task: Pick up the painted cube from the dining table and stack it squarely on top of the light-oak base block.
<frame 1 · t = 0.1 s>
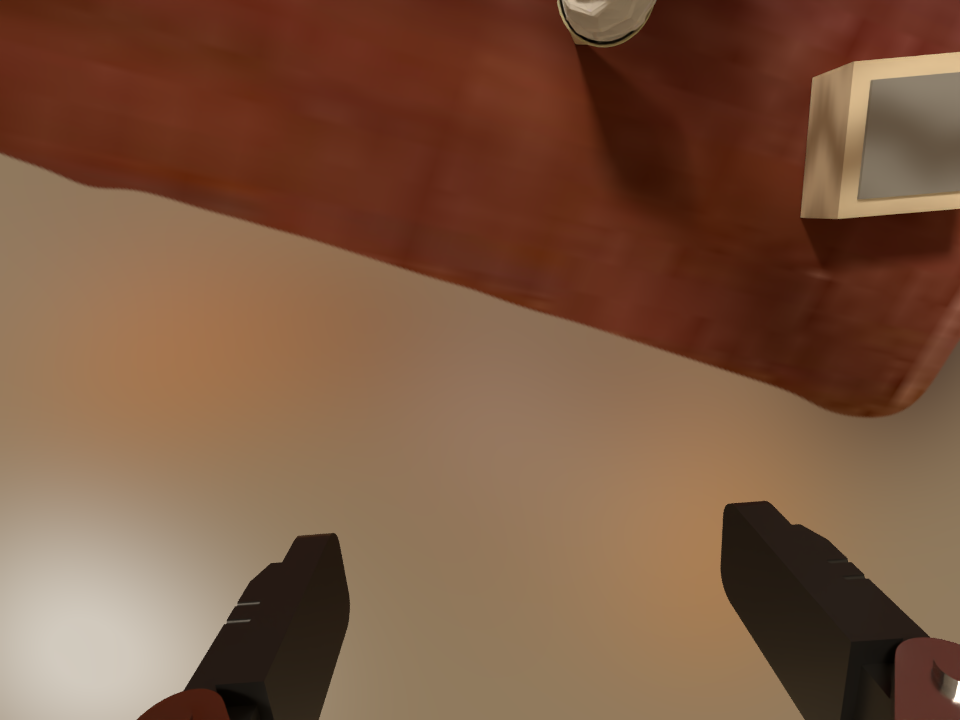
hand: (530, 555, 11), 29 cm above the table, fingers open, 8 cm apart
ice cream cone: (576, 40, 34), on the table
base: (872, 144, 36), on the table
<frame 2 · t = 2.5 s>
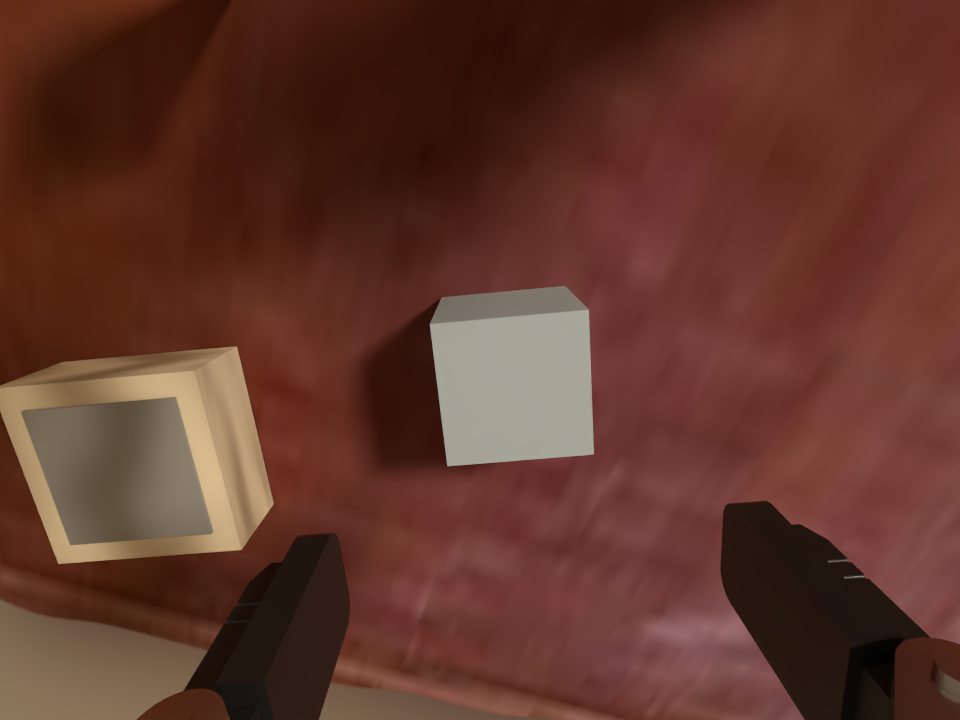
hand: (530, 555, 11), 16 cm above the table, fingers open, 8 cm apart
base: (172, 435, 28), on the table
cube: (507, 350, 26), on the table
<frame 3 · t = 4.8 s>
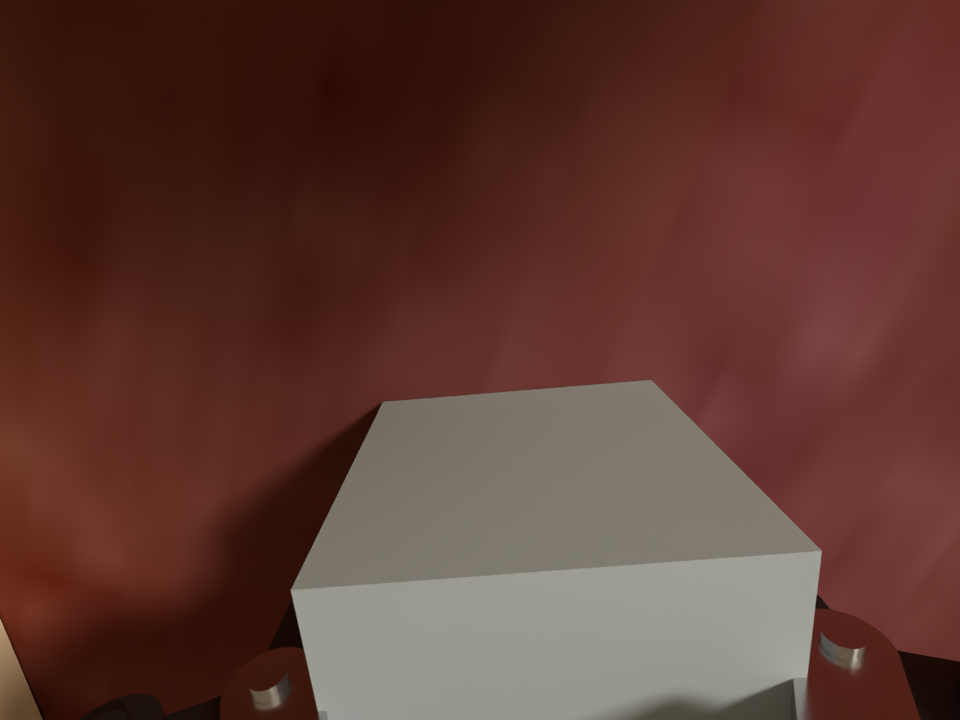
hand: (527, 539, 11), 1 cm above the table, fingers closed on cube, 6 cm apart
cube: (524, 508, 12), on the table, touching gripper
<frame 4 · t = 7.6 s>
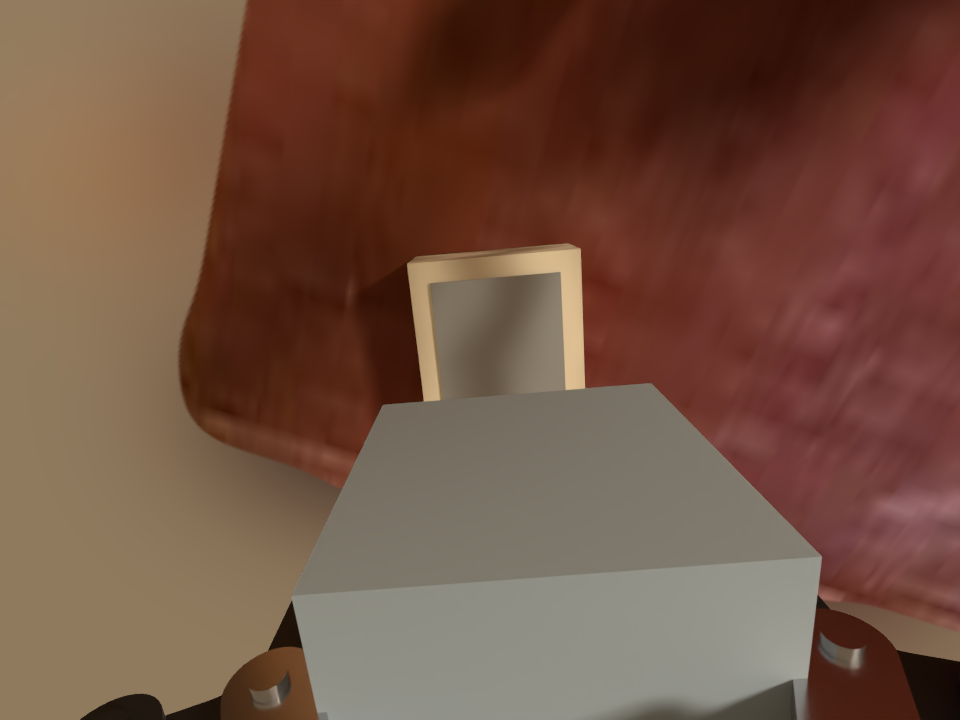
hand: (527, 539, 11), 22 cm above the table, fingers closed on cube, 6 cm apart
base: (497, 324, 32), on the table
cube: (524, 511, 13), point 20 cm above the table, touching gripper
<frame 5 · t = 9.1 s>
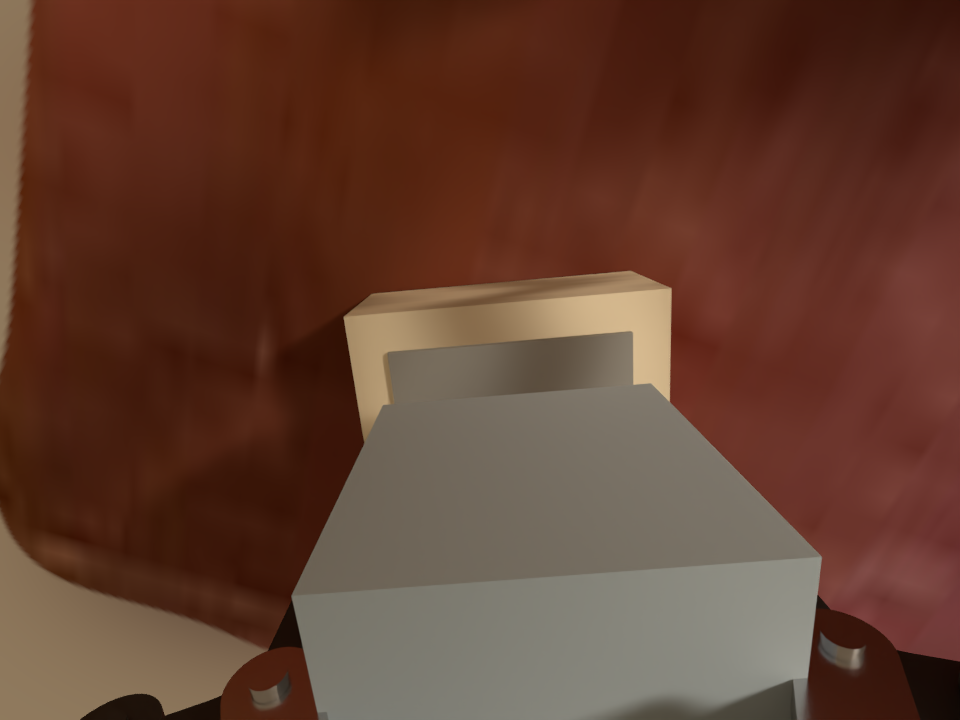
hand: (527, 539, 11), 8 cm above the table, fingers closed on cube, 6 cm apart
base: (509, 403, 19), on the table
cube: (524, 511, 13), point 7 cm above the table, touching gripper
when the fingers open (6 cm above the table, at t = 10.4 s): cube stays where it is, resting on base.
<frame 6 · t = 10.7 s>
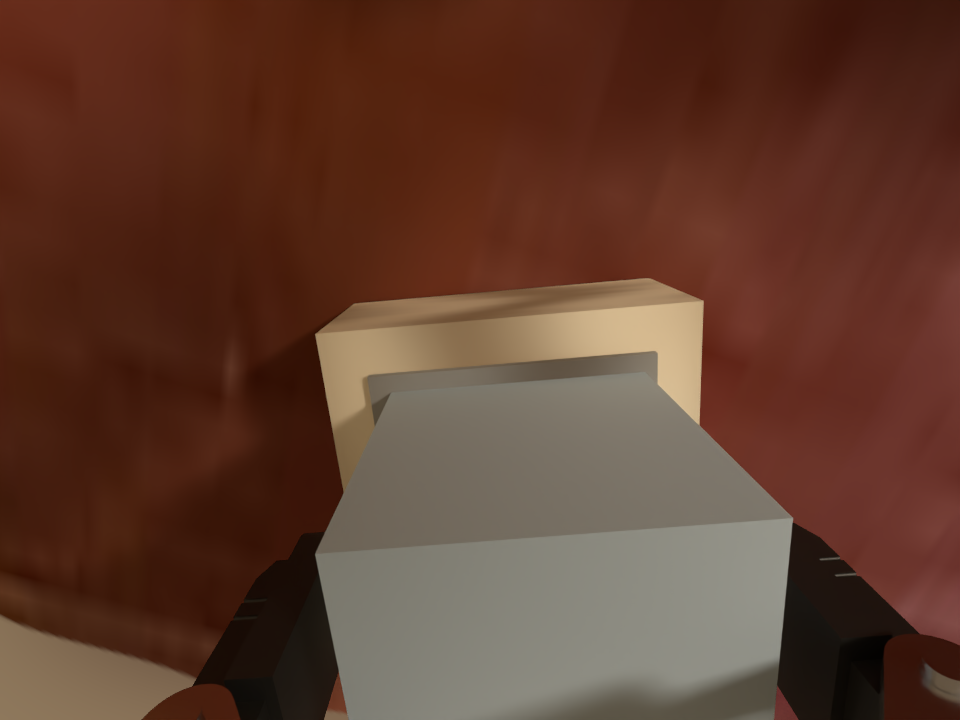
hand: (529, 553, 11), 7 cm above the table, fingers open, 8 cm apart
base: (510, 426, 17), on the table
cube: (525, 494, 13), point 4 cm above the table, touching base
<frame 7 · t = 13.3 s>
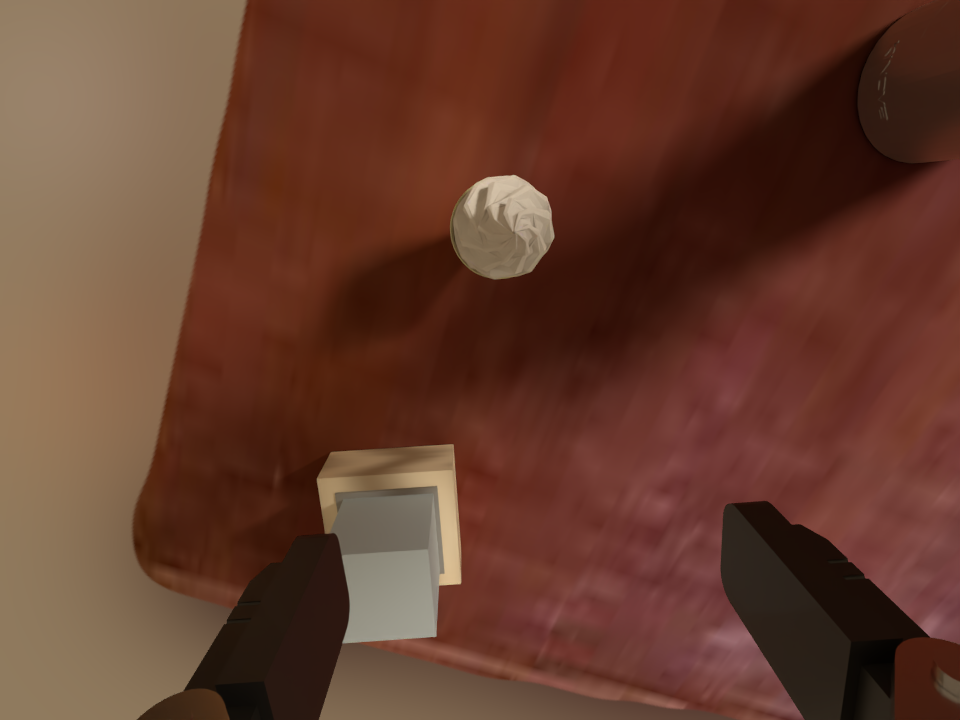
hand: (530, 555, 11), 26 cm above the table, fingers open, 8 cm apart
ice cream cone: (490, 225, 35), on the table
base: (398, 502, 40), on the table
cube: (392, 535, 36), point 4 cm above the table, touching base
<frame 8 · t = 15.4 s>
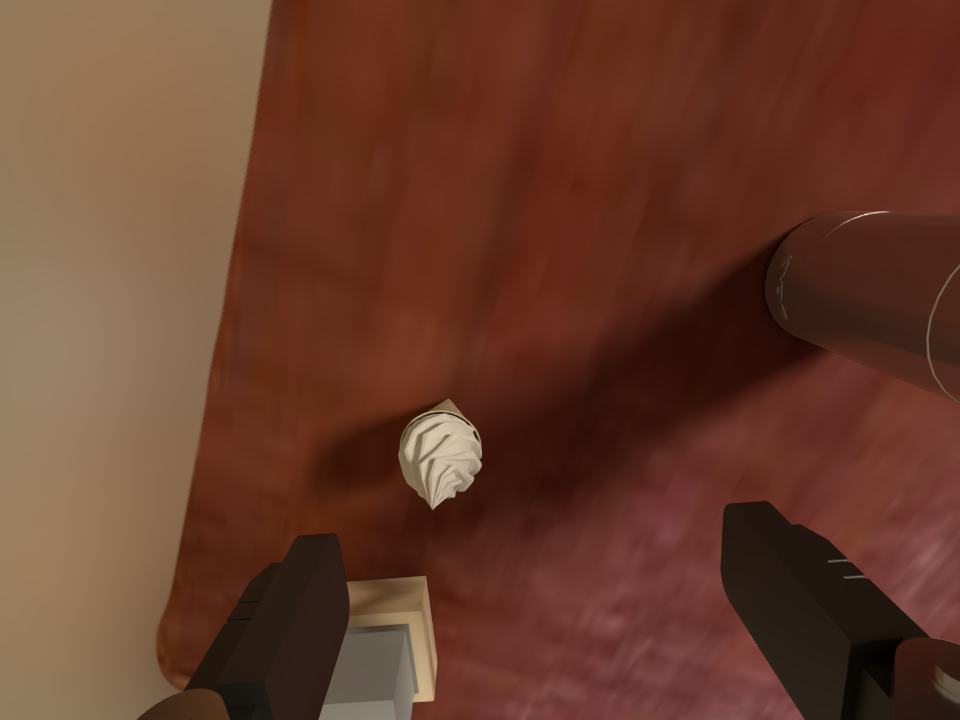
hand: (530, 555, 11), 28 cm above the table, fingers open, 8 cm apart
ice cream cone: (448, 400, 40), on the table
base: (380, 623, 46), on the table
cube: (372, 663, 42), point 4 cm above the table, touching base
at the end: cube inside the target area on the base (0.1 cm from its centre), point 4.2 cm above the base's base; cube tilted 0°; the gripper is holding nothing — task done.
